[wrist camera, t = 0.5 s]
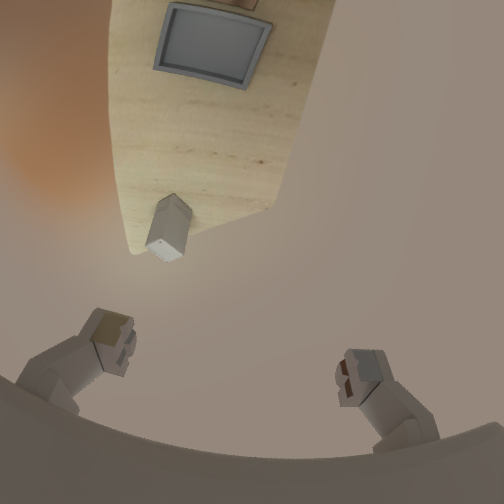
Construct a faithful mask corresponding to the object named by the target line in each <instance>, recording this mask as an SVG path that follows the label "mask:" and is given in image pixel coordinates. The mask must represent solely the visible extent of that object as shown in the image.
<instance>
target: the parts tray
mask: <svg viewBox="0 0 504 504" xmlns="http://www.w3.org/2000/svg"><path fill="white" fill-rule="evenodd" d="M271 28H272V23H269V22H266V21H263V20H260V19H256V18H253V17H249V16H246V15H242V14H238V13H234V12H230V11H225V10H221V9H216V8H211V7H206V6H201V5H195V4H189V3H182V2H169V5H168V8H167V12H166V15H165V19H164V23H163V27H162V31H161V35H160V39H159V43H158V47H157V52H156V57H155V61H154V66H153V70H158V71H164V72H169V73H175V74H180V75H185V76H190V77H195V78H199V79H203V80H208V81H212V82H216V83H220V84H224V85H227V86H231V87H235V88H238V89H242V90H245V91H246V89H247V86H248V84H249V81H250V78H251V76H252V73H253V71H254V68H255V66H256V63H257V61H258V58H259V56H260V54H261V51H262V49H263V46H264V44H265V42H266V39H267V37H268V35H269V32H270V30H271Z"/></svg>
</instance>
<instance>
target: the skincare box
mask: <svg viewBox="0 0 504 504" xmlns="http://www.w3.org/2000/svg"><path fill="white" fill-rule="evenodd" d="M191 216H192V210H191V209H190V208H189V207H188V206H187V205H186V204H185V203H184V202H183V201H182V200H181V199H180V198H178V197H177V196H176V195H175V194H172V195H170V196H168V197H167V198H165V199H163V200H161V201H160V202H158V205H157V208H156V211H155V214H154V217H153V221H152V224H151V227H150V231H149V234H148V237H147V241H146V244H145V247H146V248H147V249H149V250H150V251H151V252H153V253H154V254H156V255H157V256H158V257H160V258H161V259H162V260H164V261H165V262H169V261H172V260H174V259H177V258H179V257H182V256H184V252H185V246H186V241H187V236H188V231H189V225H190V220H191Z"/></svg>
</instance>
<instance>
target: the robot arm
mask: <svg viewBox="0 0 504 504" xmlns="http://www.w3.org/2000/svg"><path fill="white" fill-rule="evenodd" d="M133 326H134V320H133V318H132V317H130V316H126V315H123V314H119V313H116V312H112V311H108V310H104V309H101V308H96V309H95V310H94V311H93V312H92V314H91V315H90V317H89V318H88V320H87V322H86V323H85V325H84V327H83V328H82V330H81V331H80V333H79V335H78V336H72V337H71V338H69V339H67V340H65V341H63V342H61V343H59V344H57V345H56V346H54V347H52V348H50V349H48V350H46V351H44V352H42V353H41V354H39V355H37V356H35V357H33V358H31V359H29V361H28V363H27V364H26V366H25V368H24V369H23V371H22V373H21V374H20V376H19V378H18V380H17V381H16V383H15V384H14V383H12V382H11V381H9V380H7V379H6V378H4V377H3V376H1V375H0V504H504V427H503V426H502V425H500V424H499V423H497V422H490V423H487V424H485V425H482V426H480V427H477V428H475V429H472V430H469V431H466V432H463V433H460V434H457V435H454V436H450V437H447V438H444V439H440V436H439V432H438V429H437V426H436V423H435V420H434V417H433V414H432V413H431V412H429V411H428V410H427V409H426V408H425V407H424V406H423V405H422V404H421V403H420V402H419V401H418V400H417V399H416V398H415V397H414V396H413V395H412V394H411V393H409V392H408V391H407V390H406V389H405V388H404V387H403V386H402V385H401V384H400V383H399V382H397V381H394V377H393V375H392V372H391V369H390V366H389V363H388V360H387V357H386V355H385V352H384V351H383V350H369V349H367V350H366V349H348V350H347V351H346V353H345V354H344V356H345V359H344V360H342V361H341V362H340V363H339V364H338V366H337V369H336V374H335V379H336V384H337V385H338V386H339V387H340V388H341V389H340V391H339V392H338V396H339V402H340V407H359V409H360V410H361V411H362V412H363V414H364V415H365V417H366V418H367V419H368V421H369V422H370V423H371V424H372V426H373V427H374V428H375V430H376V431H377V432H378V434H379V435H380V436H381V437H382V440H381V441H379V442H378V443H377V444H376V445H374V447H373V454H366V455H357V456H348V457H336V458H335V457H334V458H314V459H277V458H257V457H245V456H235V455H226V454H218V453H211V452H205V451H198V450H193V449H188V448H182V447H177V446H173V445H169V444H164V443H160V442H156V441H152V440H148V439H145V438H141V437H138V436H134V435H131V434H127V433H124V432H121V431H118V430H115V429H112V428H109V427H106V426H103V425H101V424H98V423H95V422H93V421H90V420H87V419H85V418H82V417H80V416H78V413H79V411H80V409H79V406H78V405H77V403H76V402H75V401H74V399H73V396H75V395H76V394H77V393H78V392H80V391H81V390H82V389H84V388H85V387H86V386H87V385H89V384H90V383H91V382H93V381H94V380H95V379H97V378H98V377H99V376H100V375H102V374H103V373H104V372H107V373H111V374H114V375H118V376H122V377H124V374H125V372H126V370H127V367H128V365H129V362H128V357H130V356H132V355H133V353H134V350H135V346H136V332H135V331H134V330H133Z"/></svg>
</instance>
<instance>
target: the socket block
mask: <svg viewBox="0 0 504 504" xmlns="http://www.w3.org/2000/svg"><path fill="white" fill-rule="evenodd" d="M212 1H217V2H221V3H226V4H230V5H235V6H239V7H243V8H246V9H250V10H253V9H254V7H255V5H256V2H257V0H212Z"/></svg>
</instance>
